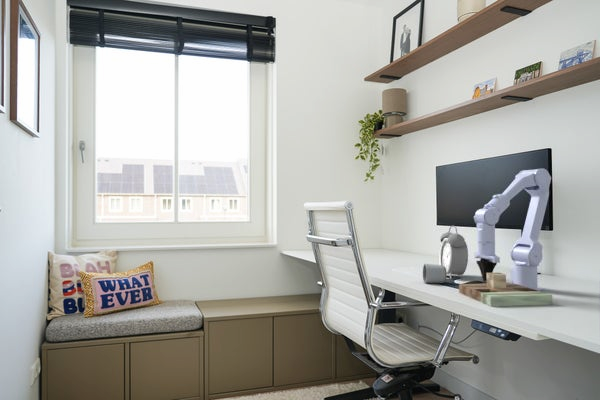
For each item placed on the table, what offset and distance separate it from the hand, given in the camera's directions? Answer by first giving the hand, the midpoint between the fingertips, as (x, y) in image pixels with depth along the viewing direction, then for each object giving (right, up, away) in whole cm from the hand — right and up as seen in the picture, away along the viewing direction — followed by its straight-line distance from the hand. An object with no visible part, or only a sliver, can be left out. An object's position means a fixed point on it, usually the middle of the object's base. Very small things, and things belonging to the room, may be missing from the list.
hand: (486, 280), depth 164 cm
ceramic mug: (-13, -5, +21) cm, 25 cm away
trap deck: (+1, -4, -10) cm, 11 cm away
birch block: (+1, -1, -6) cm, 7 cm away
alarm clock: (0, -5, +35) cm, 35 cm away
